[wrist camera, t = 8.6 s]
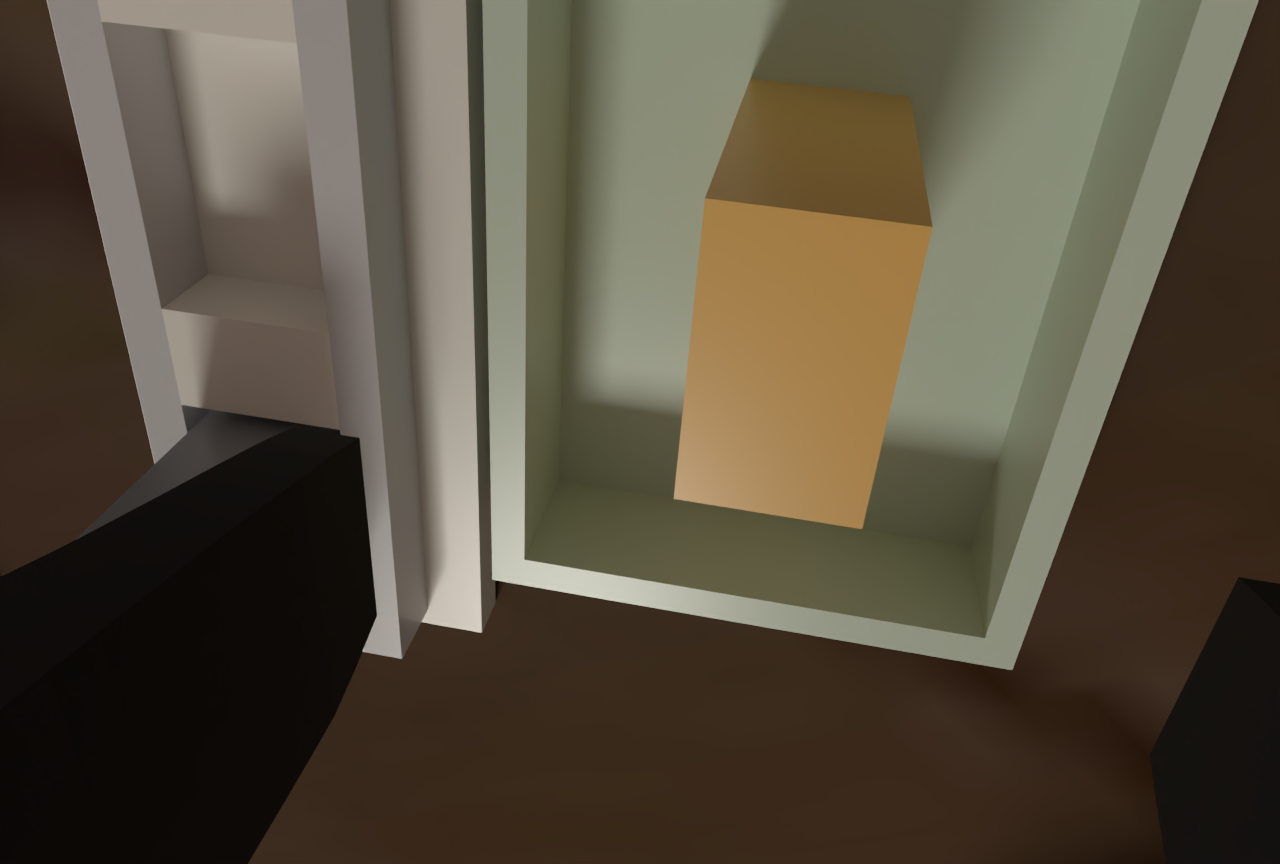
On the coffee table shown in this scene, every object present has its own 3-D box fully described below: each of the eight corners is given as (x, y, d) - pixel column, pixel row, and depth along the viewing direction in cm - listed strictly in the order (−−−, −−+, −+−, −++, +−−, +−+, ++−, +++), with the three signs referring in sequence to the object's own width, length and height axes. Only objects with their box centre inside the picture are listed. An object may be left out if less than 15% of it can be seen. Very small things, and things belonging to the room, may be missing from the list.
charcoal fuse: (268, 543, 22) (112, 743, 17) (241, 381, 20) (53, 559, 15) (375, 562, 22) (245, 769, 17) (360, 399, 19) (204, 587, 15)
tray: (536, 485, 21) (492, 579, 18) (545, -303, 14) (477, -324, 11) (992, 560, 20) (1012, 670, 17) (1258, -253, 13) (1355, -265, 10)
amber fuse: (721, 315, 18) (673, 499, 13) (750, 78, 15) (704, 198, 11) (861, 335, 17) (862, 529, 13) (910, 96, 15) (932, 226, 11)
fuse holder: (205, 551, 24) (142, 624, 22) (-56, -675, 13) (-231, -764, 11) (495, 602, 23) (459, 683, 21) (477, -659, 12) (397, -754, 10)
